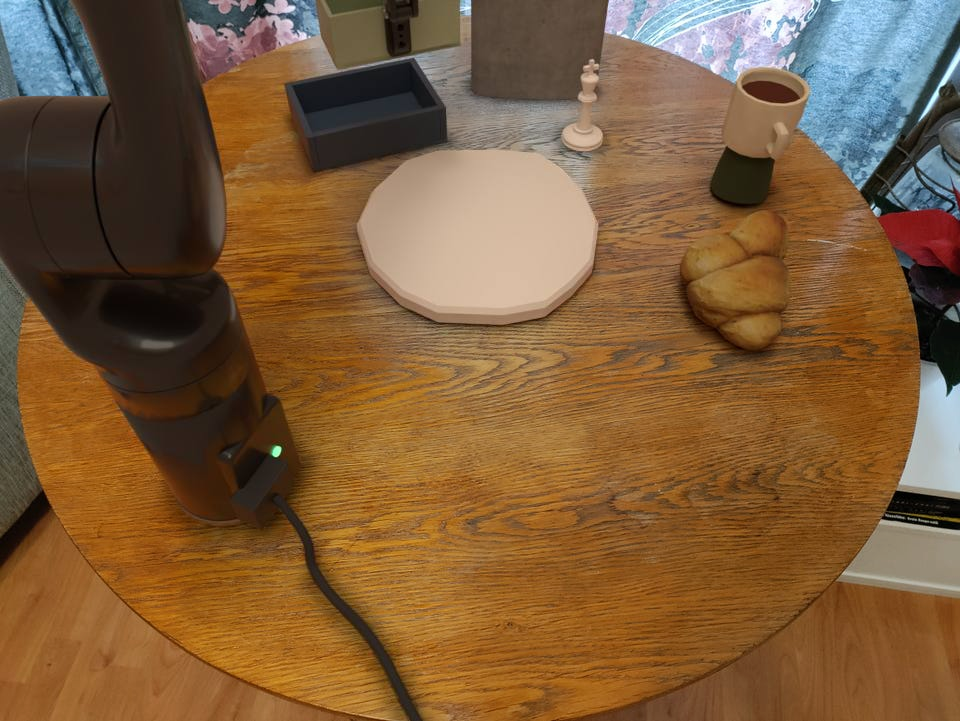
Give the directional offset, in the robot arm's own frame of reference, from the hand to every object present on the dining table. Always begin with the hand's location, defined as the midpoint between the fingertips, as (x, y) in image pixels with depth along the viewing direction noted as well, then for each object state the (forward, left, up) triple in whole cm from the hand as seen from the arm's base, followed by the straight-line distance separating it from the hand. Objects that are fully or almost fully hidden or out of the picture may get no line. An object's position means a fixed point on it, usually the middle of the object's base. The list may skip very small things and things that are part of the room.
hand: (388, 35), depth 72 cm
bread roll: (-38, +4, -17) cm, 42 cm away
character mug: (-35, -14, -17) cm, 41 cm away
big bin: (+8, -7, -17) cm, 20 cm away
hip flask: (-7, -23, -17) cm, 29 cm away
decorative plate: (-12, +5, -17) cm, 21 cm away
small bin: (0, 0, -1) cm, 1 cm away
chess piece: (-16, -16, -17) cm, 28 cm away
